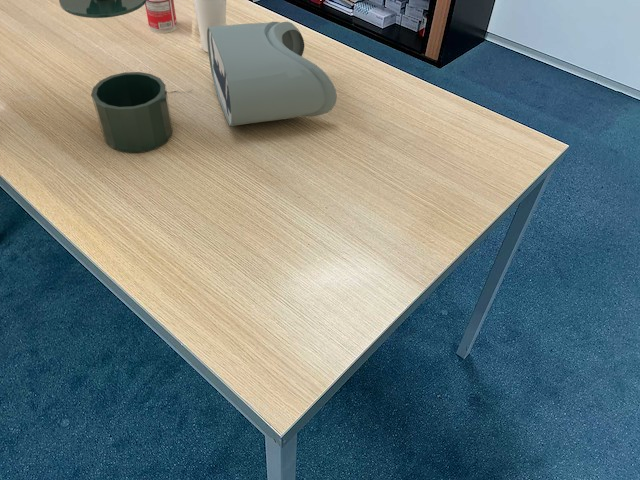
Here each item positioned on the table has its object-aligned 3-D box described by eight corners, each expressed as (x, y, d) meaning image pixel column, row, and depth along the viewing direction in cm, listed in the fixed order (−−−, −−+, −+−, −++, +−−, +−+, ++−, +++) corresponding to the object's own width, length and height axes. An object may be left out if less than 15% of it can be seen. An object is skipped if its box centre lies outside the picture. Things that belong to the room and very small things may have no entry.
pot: (100, 155, 91) (87, 111, 85) (107, 116, 99) (96, 73, 92) (171, 151, 92) (164, 107, 86) (173, 112, 100) (166, 70, 94)
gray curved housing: (210, 78, 109) (204, 15, 100) (301, 68, 114) (303, 7, 105) (233, 142, 95) (228, 75, 86) (336, 127, 100) (341, 62, 90)
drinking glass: (213, 38, 121) (206, -33, 110) (236, 48, 119) (232, -24, 108) (191, 49, 117) (182, -23, 106) (215, 59, 115) (208, -14, 104)
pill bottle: (161, 21, 126) (153, -30, 118) (183, 27, 124) (176, -23, 116) (143, 31, 122) (134, -20, 114) (166, 38, 120) (157, -14, 112)
